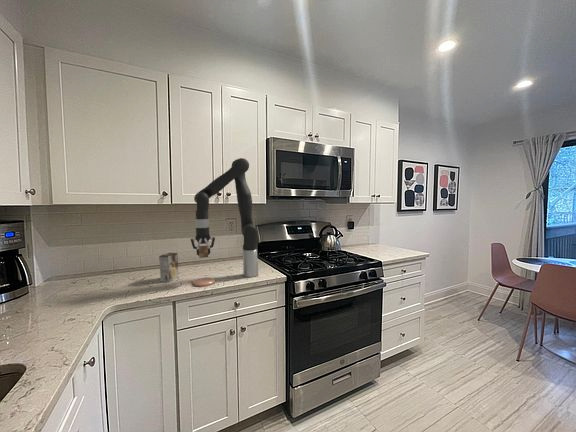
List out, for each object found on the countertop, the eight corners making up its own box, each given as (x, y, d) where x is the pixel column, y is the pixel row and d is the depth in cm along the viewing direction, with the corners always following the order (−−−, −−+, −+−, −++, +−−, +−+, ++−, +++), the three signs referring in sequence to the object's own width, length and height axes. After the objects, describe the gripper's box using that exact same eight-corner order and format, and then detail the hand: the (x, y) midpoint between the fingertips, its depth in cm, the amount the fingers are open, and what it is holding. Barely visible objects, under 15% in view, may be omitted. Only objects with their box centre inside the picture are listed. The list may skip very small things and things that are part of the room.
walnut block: (207, 255, 154) (207, 245, 154) (208, 257, 150) (207, 247, 149) (199, 255, 153) (198, 246, 152) (199, 257, 148) (198, 247, 147)
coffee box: (170, 276, 165) (168, 252, 163) (178, 277, 163) (177, 252, 162) (160, 281, 156) (159, 255, 154) (169, 282, 154) (168, 256, 153)
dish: (213, 278, 160) (213, 276, 160) (215, 285, 149) (215, 282, 149) (193, 281, 156) (193, 278, 156) (193, 287, 145) (193, 285, 145)
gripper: (214, 225, 156) (215, 252, 157) (189, 226, 151) (190, 254, 152) (215, 226, 149) (216, 255, 150) (189, 228, 144) (190, 257, 145)
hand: (203, 254), depth 151 cm, fingers closed on walnut block, 5 cm apart
